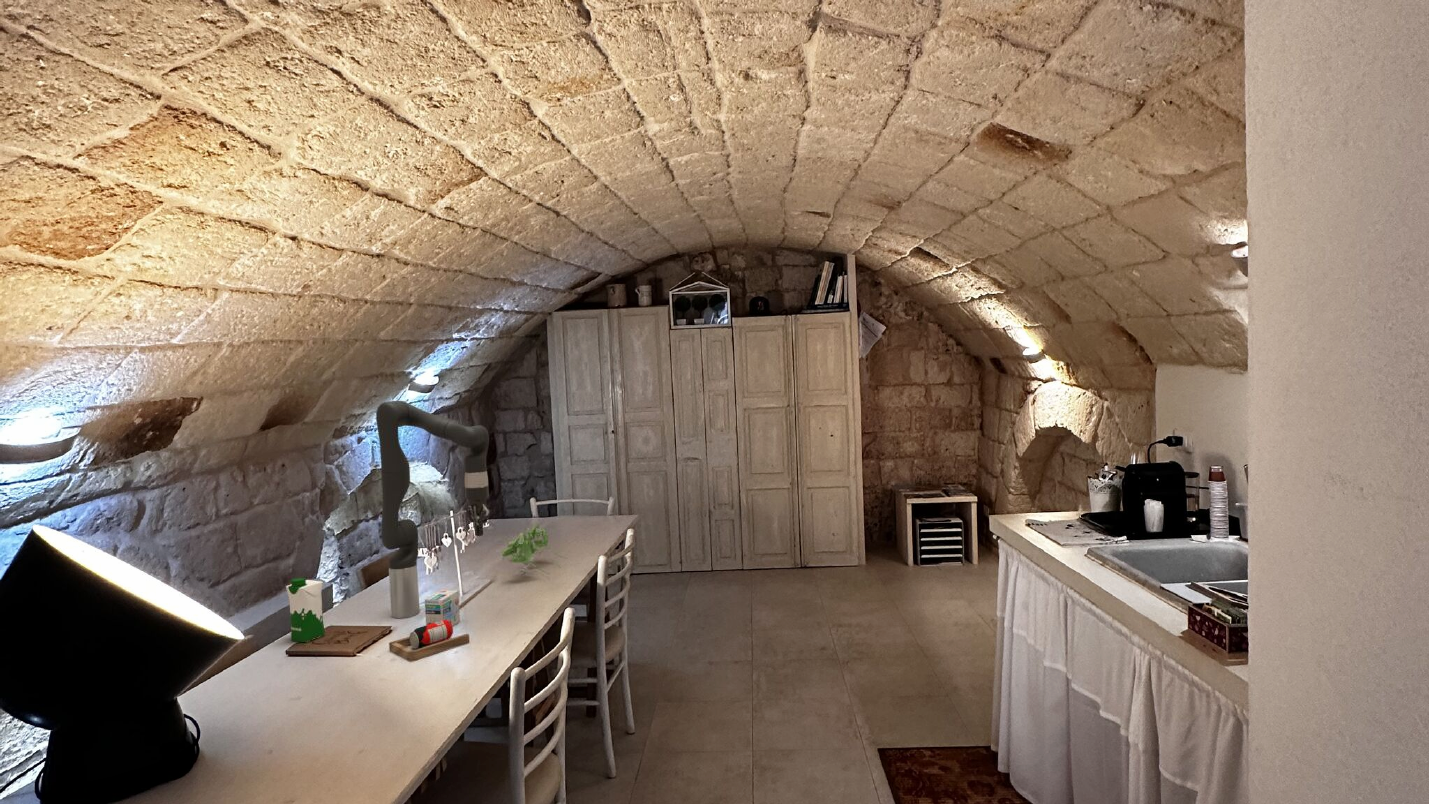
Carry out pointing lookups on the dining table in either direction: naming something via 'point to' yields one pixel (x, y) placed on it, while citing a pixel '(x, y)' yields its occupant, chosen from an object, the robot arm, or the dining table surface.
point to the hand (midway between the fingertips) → (479, 535)
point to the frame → (412, 655)
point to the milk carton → (305, 609)
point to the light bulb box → (443, 607)
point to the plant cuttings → (527, 547)
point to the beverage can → (431, 634)
